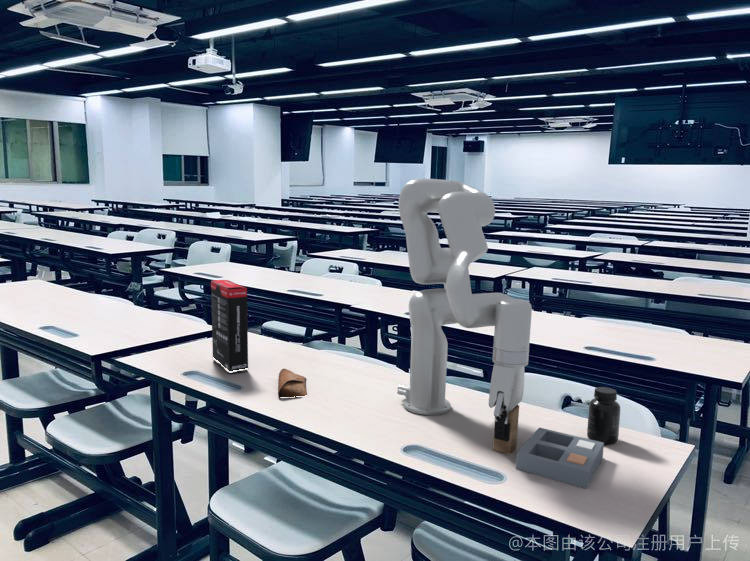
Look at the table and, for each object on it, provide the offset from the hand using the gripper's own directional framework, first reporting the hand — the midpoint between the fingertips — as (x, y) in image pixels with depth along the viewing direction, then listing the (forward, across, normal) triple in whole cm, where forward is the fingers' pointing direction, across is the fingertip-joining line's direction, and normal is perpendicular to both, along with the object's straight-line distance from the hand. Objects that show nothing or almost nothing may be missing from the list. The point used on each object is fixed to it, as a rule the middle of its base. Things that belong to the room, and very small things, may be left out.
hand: (505, 435), depth 123 cm
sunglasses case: (+4, -4, -64) cm, 65 cm away
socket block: (+3, 0, +12) cm, 13 cm away
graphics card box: (+4, -7, -94) cm, 94 cm away
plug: (+3, 0, 0) cm, 3 cm away
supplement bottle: (+3, -19, +17) cm, 26 cm away
